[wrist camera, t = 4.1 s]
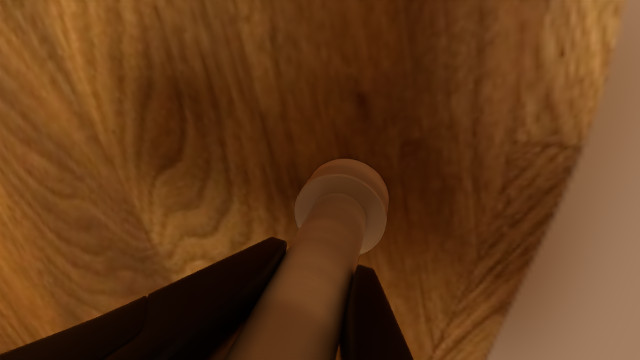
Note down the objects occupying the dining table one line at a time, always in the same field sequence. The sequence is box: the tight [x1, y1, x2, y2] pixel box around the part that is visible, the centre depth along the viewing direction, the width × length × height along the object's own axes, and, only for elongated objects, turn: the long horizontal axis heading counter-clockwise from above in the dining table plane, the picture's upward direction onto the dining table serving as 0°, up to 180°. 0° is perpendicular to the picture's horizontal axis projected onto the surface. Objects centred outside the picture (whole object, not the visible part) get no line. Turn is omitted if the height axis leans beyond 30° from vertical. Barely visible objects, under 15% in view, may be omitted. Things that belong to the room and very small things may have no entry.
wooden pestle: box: [224, 159, 389, 360], centre depth 7 cm, size 3×3×12 cm
